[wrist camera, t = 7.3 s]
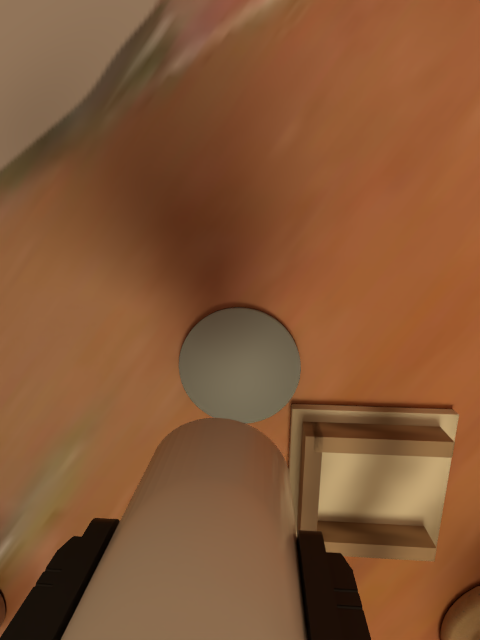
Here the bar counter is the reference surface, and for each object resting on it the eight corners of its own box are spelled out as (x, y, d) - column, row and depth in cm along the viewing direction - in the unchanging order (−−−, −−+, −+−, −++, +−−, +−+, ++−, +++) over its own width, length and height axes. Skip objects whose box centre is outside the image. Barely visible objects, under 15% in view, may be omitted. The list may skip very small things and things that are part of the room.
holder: (285, 533, 29) (288, 563, 26) (291, 403, 26) (294, 423, 24) (431, 541, 28) (449, 573, 26) (452, 409, 26) (475, 429, 23)
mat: (182, 417, 27) (181, 421, 27) (178, 306, 25) (176, 307, 25) (297, 421, 27) (297, 425, 26) (302, 308, 25) (303, 309, 24)
